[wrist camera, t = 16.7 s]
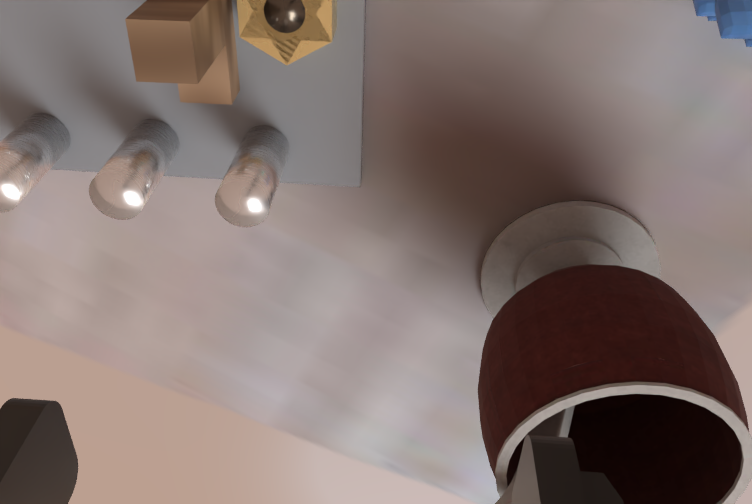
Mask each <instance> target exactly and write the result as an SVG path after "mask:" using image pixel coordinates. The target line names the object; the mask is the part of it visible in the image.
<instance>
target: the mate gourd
mask: <svg viewBox="0 0 752 504" xmlns="http://www.w3.org/2000/svg"><path fill="white" fill-rule="evenodd" d="M660 269H661V263H660V259H659V254H658V250H657V248H656V246H655V244H654V242H653V240H652V238H651V236H650V234H649V232H648V231H647V230H646V229H645V228H644V227H643V225H642V224H641V223H640V222H639V221H638V220H636V219H635V218H633V217H632V216H631V215H629V214H628V213H626V212H624V211H622V210H620V209H618V208H615V207H613V206H611V205H606V204H602V203H597V202H592V201H568V202H560V203H554V204H551V205H547V206H544V207H540V208H537V209H535V210H533V211H531V212H529V213H527V214H525V215H523V216H521V217H519V218H518V219H517V220H515V221H514V222H512V223H511V224H509V225H508V226H507V227H506V228H505V229H504V230H503V231H502V232H501V233H500V234H499V235H498V236H497V237H496V238H495V240H494V241H493V243H492V244H491V246H490V247H489V249H488V250H487V253H486V255H485V258H484V261H483V263H482V269H481V277H480V279H481V288H482V296H483V299H484V302H485V304H486V307H487V309H488V311H489V312H490V314H491V315H492V317H493V318H494V319H493V321H492V323H491V326H490V328H489V331H488V333H487V336H486V340H485V343H484V347H483V352H482V360H481V367H480V376H479V384H478V398H479V410H480V422H481V429H482V436H483V440H484V444H485V448H486V451H487V455H488V459H489V462H490V466H491V468H492V471H493V473H494V476H495V478H496V484H497V491H498V493H499V495H500V499H499V500H498V501H497V502H496V503H495V504H512V493H513V487H514V483H515V478H516V474H517V470H518V465H519V461H520V456H521V452H522V447H523V443H524V439H525V437H526V435H538V436H553V437H568V438H571V439H572V440H573V443H574V446H575V450H576V454H577V459H578V464H579V468H580V471H584V472H598V473H604V475H605V476H606V477H607V479H608V480H609V482H610V483H611V484H612V486H613V487H614V489H615V490H616V491H617V493H618V494H619V496H620V497H621V498H622V500H623V502H624V504H734V503H735V502H736V501H737V500H738V499H739V497H740V496H741V495H742V494H743V493H744V491H745V490H746V488H747V486H748V484H749V482H750V480H751V478H752V437H751V436H750V434H749V428H748V422H747V416H746V411H745V408H744V404H743V400H742V397H741V393H740V389H739V386H738V382H737V381H736V378H735V376H734V374H733V372H732V370H731V369H730V367H729V364H728V362H727V360H726V358H725V356H724V354H723V352H722V350H721V348H720V346H719V344H718V342H717V340H716V338H715V336H714V335H713V333H712V332H711V331H710V329H709V328H708V327H707V326H706V324H705V323H704V322H703V320H702V319H701V318H700V317H699V315H698V314H697V313H696V312H695V311H694V309H693V308H692V307H691V306H690V305H689V304H688V303H687V302H686V301H685V299H683V298H682V297H681V296H680V295H679V294H678V293H677V292H676V291H675V290H674V289H673V288H672V287H670V286H669V285H667V284H666V283H664V282H663V281H661V280H660Z"/></svg>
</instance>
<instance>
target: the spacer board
mask: <svg viewBox="0 0 752 504" xmlns="http://www.w3.org/2000/svg"><path fill="white" fill-rule="evenodd" d="M145 1H147V0H0V141H2V140H3V139H4V138H5V137H6V136H7V135H8V134H9V133H10V132H12V131H13V130H14V129H15V128H16V127H17V126H18V125H19V124H20V123H22V122H23V121H24V120H25V119H26V118H27V117H28V116H30V115H31V114H34V113H47V114H50V115H52V116H54V117H56V118H58V119H59V120H60V121H61V122H62V123H63V124H64V125H65V126H66V127H67V129H68V131H69V133H70V137H71V143H70V147H69V149H68V150H67V151H66V152H65V153H64V154H63V156H62V157H61V158H60V159H59V160H58V161H57V162H56V163H55V164H54V165H53V166H52V168H51V169H55V170H72V171H89V172H99V171H100V170H101V169H102V168H103V166H104V165H105V164H106V163H107V161H108V160H109V159H110V157H111V156H112V155H113V154H114V152H115V151H116V150H117V149H118V147H119V146H120V145H121V144H122V142H123V141H124V140H125V139H126V137H127V136H128V135H129V133H130V132H131V131H132V130H133V128H134V127H135V126H136V125H137V124H138V123H139V122H141V121H143V120H145V119H157V120H160V121H163V122H165V123H167V124H168V125H169V126H171V127H172V128H173V130H174V131H175V132H176V134H177V136H178V138H179V143H180V147H179V151H178V153H177V155H176V156H175V158H174V159H173V161H172V163H171V164H170V166H169V167H168V169H167V171H166V172H165V174H164V175H163V176H175V177H192V178H210V179H224V176H225V174H226V172H227V170H228V168H229V166H230V164H231V162H232V160H233V158H234V156H235V154H236V152H237V150H238V148H239V146H240V143H241V141H242V139H243V137H244V135H245V134H246V132H247V131H248V130H249V129H251V128H253V127H255V126H258V125H268V126H272V127H274V128H276V129H278V130H280V131H281V132H282V133H283V134H284V135H285V137H286V138H287V140H288V142H289V147H290V151H289V156H288V158H287V161H286V164H285V167H284V170H283V173H282V176H281V178H280V181H279V183H296V184H313V185H330V186H347V187H360V185H361V175H362V134H363V92H364V51H365V9H366V0H337V28H336V31H335V34H334V37H333V40H332V42H331V43H329V44H327V45H325V46H323V47H321V48H319V49H317V50H315V51H314V52H312V53H310V54H308V55H306V56H304V57H302V58H300V59H298V60H296V61H294V62H292V63H291V64H289V65H285V64H283V63H282V62H280V61H278V60H277V59H275V58H273V57H272V56H270V55H269V54H267V53H265V52H264V51H262V50H260V49H259V48H257V47H255V46H254V45H252V44H250V43H249V42H247V41H245V40H244V39H242V38H240V36H239V23H238V10H237V0H232V8H233V19H234V30H235V40H236V51H237V62H238V73H239V83H240V91H239V93H238V95H237V96H236V98H235V100H234V102H233V103H232V105H230V104H207V103H183V102H180V97H179V90H178V83H156V82H136V77H135V71H134V66H133V60H132V55H131V49H130V43H129V38H128V32H127V27H126V21H125V19H126V18H127V17H128V16H129V15H130V14H131V13H133V12H134V11H135V10H136V9H137V8H138V7H140V6H141V5H142V4H143V3H144V2H145Z"/></svg>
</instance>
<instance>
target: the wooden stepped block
mask: <svg viewBox="0 0 752 504" xmlns="http://www.w3.org/2000/svg"><path fill="white" fill-rule="evenodd" d="M125 21H126V27H127V32H128V38H129V43H130V49H131V55H132V60H133V66H134V71H135V77H136V82H156V83H178V90H179V97H180V102H183V103H207V104H230V105H232V103H233V102H234V100H235V98H236V96H237V95H238V93H239V91H240V83H239V73H238V62H237V51H236V40H235V30H234V19H233V8H232V0H147V1H145V2H144V3H143V4H142V5H141V6H140V7H138V8H137V9H136V10H135V11H134V12H133V13H131V14H130V15H129V16H128V17H127V18H126V19H125Z"/></svg>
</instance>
